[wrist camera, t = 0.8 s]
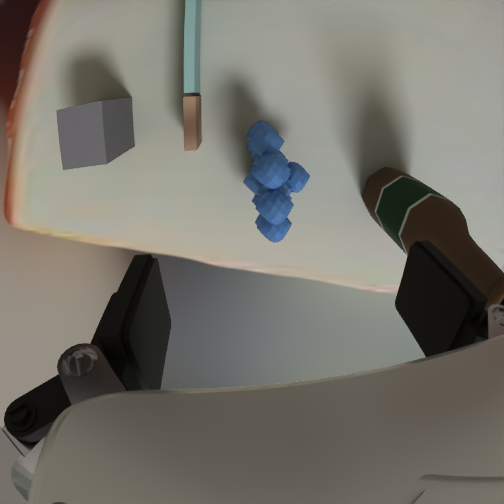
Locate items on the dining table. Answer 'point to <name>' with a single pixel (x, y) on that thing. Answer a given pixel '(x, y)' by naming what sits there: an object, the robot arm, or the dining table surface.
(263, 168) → the grapes
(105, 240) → the dining table surface
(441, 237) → the beer bottle
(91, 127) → the doorstop block
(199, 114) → the brown wooden block
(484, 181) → the dining table surface
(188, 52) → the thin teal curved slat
